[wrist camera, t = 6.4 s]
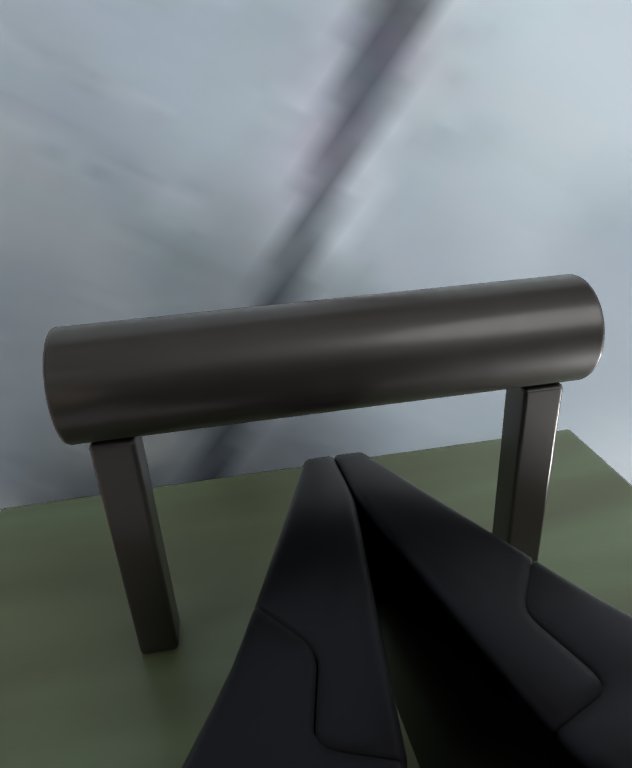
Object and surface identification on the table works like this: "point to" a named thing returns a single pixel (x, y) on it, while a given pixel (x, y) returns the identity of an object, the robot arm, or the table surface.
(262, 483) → the drawer
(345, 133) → the table surface
